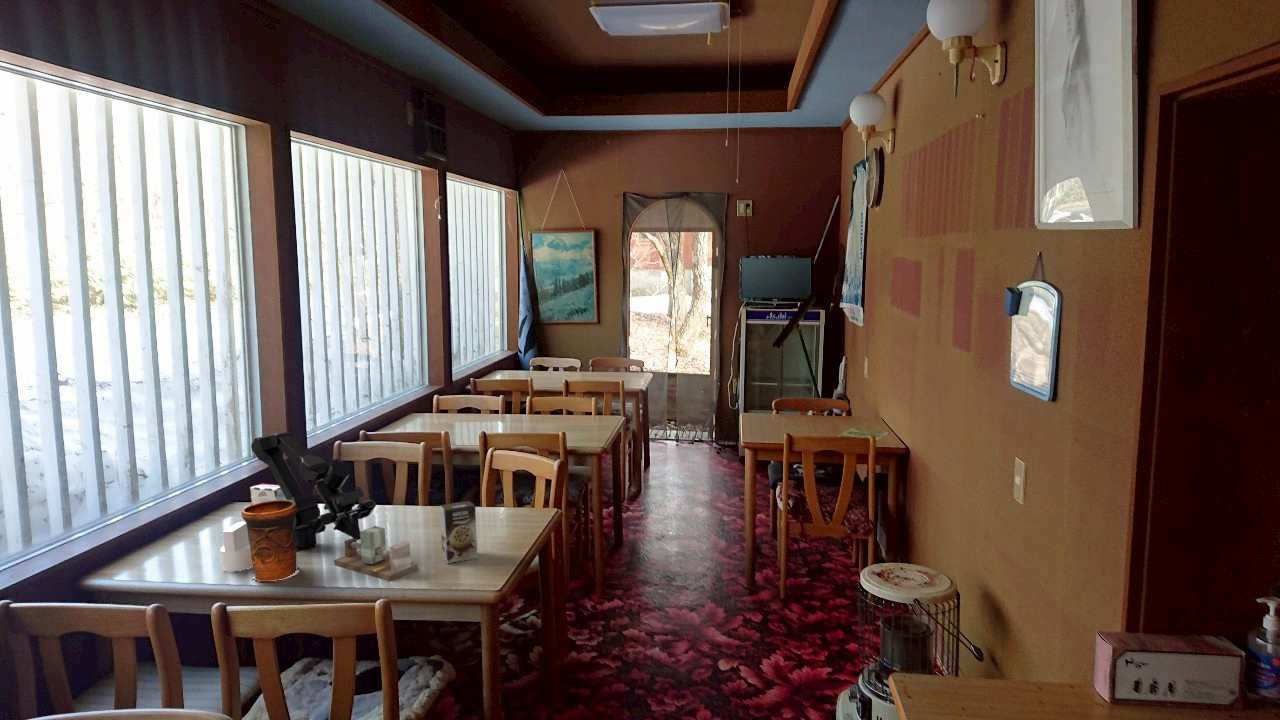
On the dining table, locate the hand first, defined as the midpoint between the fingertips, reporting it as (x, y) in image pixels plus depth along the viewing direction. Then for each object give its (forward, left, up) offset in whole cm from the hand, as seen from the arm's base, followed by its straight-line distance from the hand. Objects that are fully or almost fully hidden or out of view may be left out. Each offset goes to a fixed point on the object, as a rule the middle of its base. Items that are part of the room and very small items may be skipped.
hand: (359, 539), depth 235 cm
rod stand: (+3, -6, -7) cm, 10 cm away
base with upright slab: (-32, +16, -7) cm, 36 cm away
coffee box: (+26, -11, -7) cm, 30 cm away
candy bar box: (-22, +41, -7) cm, 47 cm away
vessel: (-23, +4, -7) cm, 24 cm away
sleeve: (+3, -5, -5) cm, 8 cm away
